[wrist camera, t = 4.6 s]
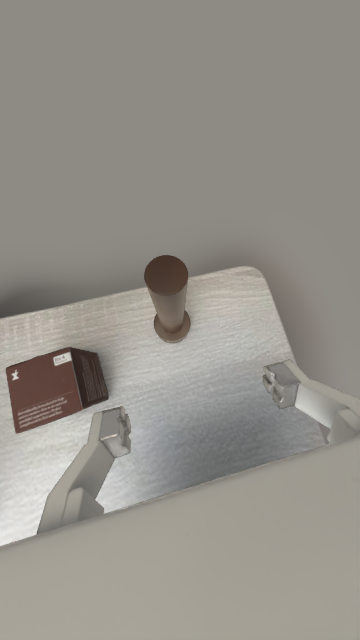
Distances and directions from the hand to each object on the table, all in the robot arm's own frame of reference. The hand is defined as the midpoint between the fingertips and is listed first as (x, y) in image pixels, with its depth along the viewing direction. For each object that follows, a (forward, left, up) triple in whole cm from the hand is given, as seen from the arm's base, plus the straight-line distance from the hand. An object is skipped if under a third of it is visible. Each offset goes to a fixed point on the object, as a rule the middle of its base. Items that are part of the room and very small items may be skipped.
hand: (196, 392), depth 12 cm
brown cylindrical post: (+1, -7, -14) cm, 16 cm away
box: (+13, -1, -15) cm, 20 cm away
